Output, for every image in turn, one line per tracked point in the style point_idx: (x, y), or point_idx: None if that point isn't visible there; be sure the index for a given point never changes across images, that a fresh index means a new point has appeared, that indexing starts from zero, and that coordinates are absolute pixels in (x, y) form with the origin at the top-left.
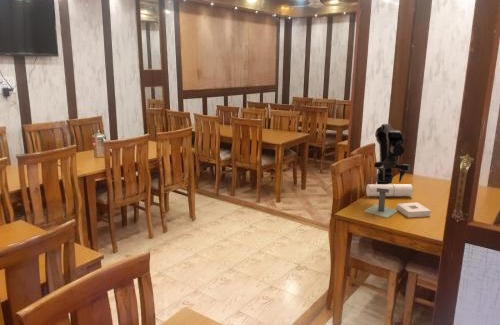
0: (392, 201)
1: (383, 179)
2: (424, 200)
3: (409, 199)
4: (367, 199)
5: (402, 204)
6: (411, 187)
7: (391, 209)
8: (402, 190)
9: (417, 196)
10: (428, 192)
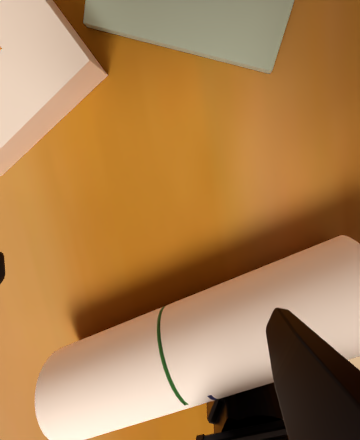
0: (161, 223)
1: (281, 314)
2: (4, 317)
3: (77, 301)
4: (335, 187)
5: (45, 66)
6: (41, 395)
7: (129, 8)
8: (102, 347)
9: None
10: (22, 434)
